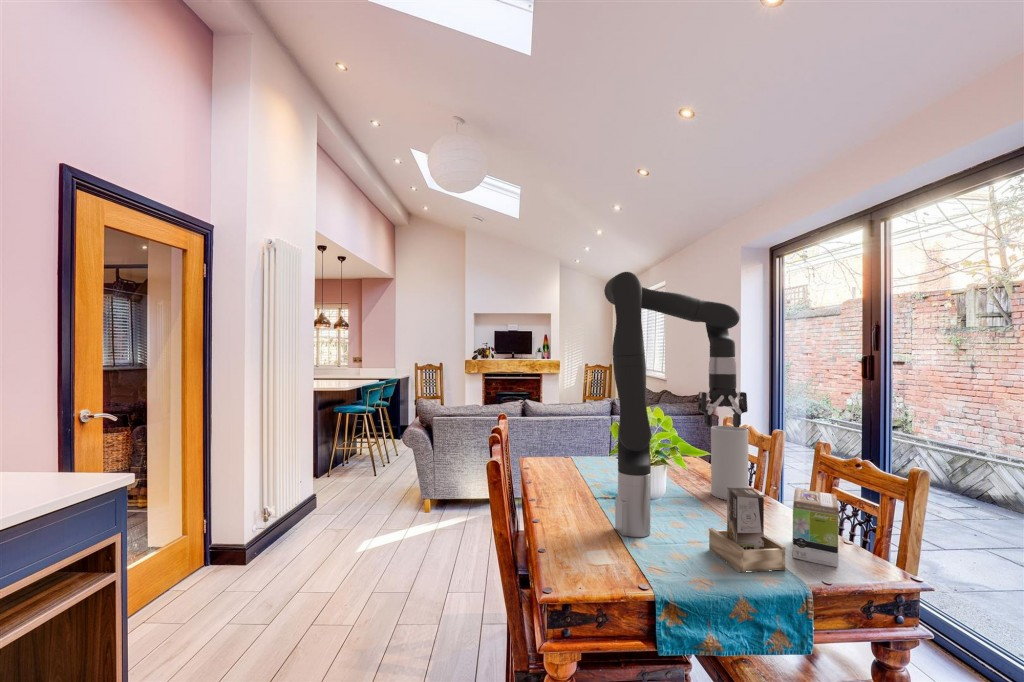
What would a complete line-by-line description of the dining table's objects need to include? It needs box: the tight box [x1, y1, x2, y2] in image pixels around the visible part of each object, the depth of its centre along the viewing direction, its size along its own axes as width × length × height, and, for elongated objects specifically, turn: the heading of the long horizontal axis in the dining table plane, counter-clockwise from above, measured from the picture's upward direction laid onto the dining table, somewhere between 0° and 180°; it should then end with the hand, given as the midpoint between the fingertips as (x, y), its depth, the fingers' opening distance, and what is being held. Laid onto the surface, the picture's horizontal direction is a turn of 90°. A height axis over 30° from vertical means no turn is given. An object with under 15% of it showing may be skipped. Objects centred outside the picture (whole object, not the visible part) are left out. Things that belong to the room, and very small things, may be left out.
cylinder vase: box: [710, 425, 749, 501], centre depth 176 cm, size 12×12×25 cm
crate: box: [708, 527, 787, 573], centre depth 121 cm, size 12×14×6 cm
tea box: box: [791, 488, 840, 568], centre depth 125 cm, size 15×10×15 cm, turn 148°
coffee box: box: [726, 487, 765, 550], centre depth 121 cm, size 9×6×16 cm
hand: (722, 427), depth 142 cm, fingers open, 8 cm apart
